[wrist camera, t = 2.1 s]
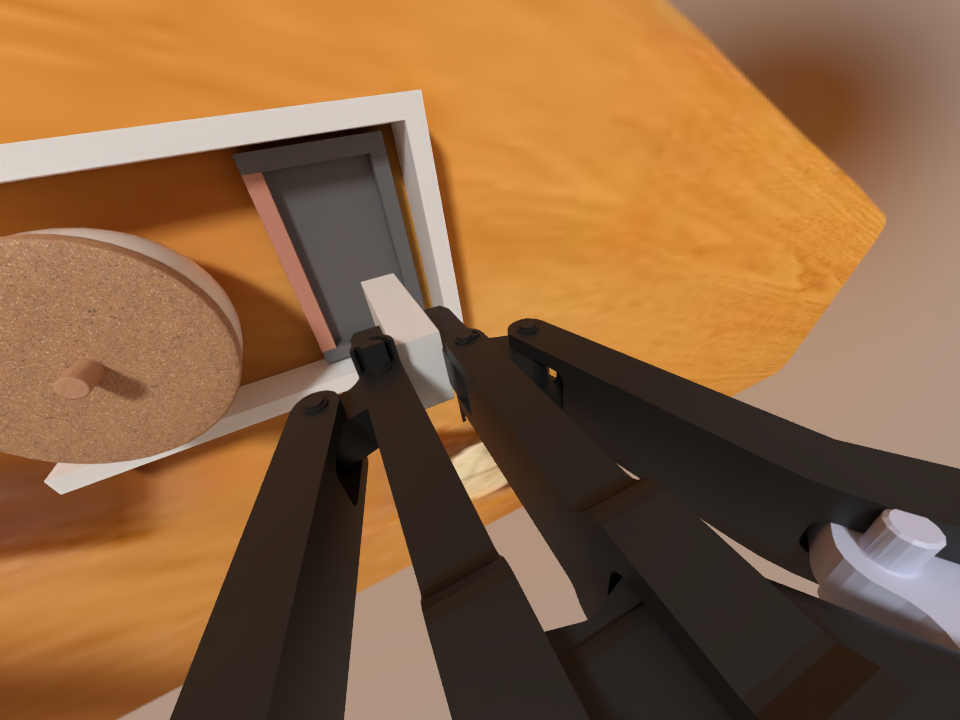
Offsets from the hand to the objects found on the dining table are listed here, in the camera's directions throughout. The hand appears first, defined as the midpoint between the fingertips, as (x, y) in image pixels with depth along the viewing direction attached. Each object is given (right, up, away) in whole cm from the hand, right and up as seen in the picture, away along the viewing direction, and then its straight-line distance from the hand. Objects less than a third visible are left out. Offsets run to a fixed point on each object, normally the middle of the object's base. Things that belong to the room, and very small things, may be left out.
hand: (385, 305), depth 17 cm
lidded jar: (-16, +1, +5) cm, 16 cm away
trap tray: (-5, +5, +8) cm, 10 cm away
